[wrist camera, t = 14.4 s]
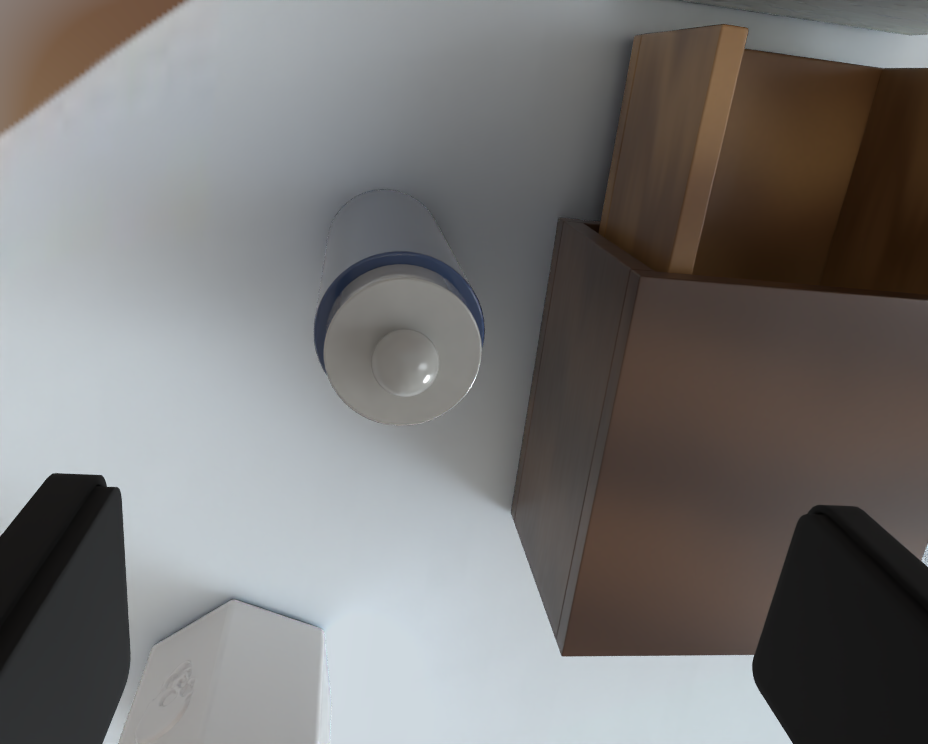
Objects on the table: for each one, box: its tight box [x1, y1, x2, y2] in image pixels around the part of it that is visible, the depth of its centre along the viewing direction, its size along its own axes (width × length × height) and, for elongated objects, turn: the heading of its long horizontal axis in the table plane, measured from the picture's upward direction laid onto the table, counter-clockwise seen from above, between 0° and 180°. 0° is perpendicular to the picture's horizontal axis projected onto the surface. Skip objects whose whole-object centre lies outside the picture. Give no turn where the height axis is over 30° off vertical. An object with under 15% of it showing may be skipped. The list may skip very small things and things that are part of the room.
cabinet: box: [511, 218, 928, 656], centre depth 29 cm, size 14×13×9 cm
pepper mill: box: [314, 189, 485, 426], centre depth 23 cm, size 4×4×13 cm
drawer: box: [599, 0, 928, 295], centre depth 24 cm, size 17×11×7 cm
